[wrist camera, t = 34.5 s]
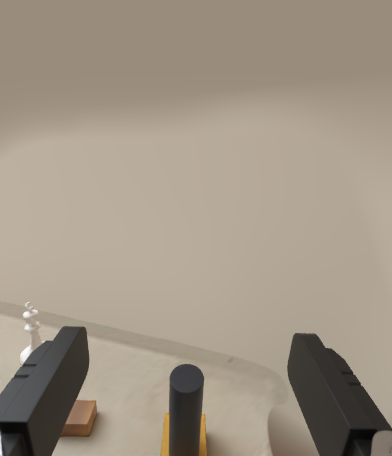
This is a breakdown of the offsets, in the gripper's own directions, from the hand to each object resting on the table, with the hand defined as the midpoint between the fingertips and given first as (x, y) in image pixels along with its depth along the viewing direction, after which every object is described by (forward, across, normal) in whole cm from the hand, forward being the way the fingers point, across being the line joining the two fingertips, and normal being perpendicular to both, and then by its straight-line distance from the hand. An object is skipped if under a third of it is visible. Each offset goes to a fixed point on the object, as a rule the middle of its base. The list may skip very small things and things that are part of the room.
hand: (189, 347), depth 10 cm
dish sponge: (+11, 0, +26) cm, 29 cm away
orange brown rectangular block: (+15, +13, +27) cm, 33 cm away
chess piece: (+26, +24, +27) cm, 44 cm away
